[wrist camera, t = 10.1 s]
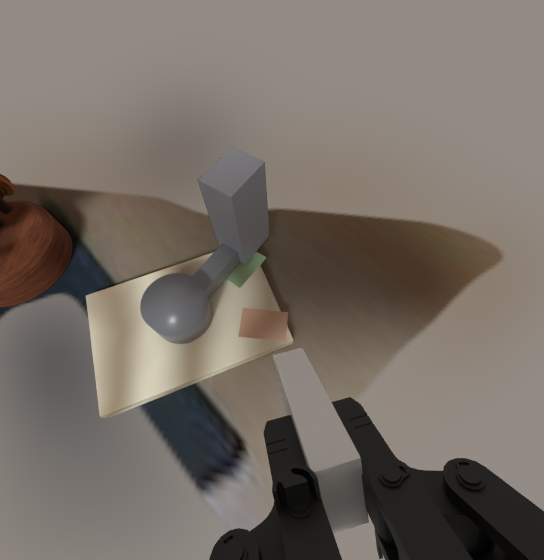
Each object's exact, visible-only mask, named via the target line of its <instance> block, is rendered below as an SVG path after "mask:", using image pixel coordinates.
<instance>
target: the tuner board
mask: <svg viewBox="0 0 544 560" xmlns="http://www.w3.org/2000/svg"><path fill="white" fill-rule="evenodd" d="M213 253H214V252H213ZM213 253H210V254H207V255H204V256H201V257H198V258H195V259H192V260H189V261H186V262H183V263H180V264H177V265H174V266H172V267H169V268H166V269H163V270H160V271H157V272H154V273H151V274H148V275H145V276H142V277H139V278H136V279H133V280H130V281H127V282H124V283H121V284H119V285H116V286H113V287H110V288H107V289H104V290H101V291H98V292H95V293H92V294H89V295H86V301H87V310H88V318H89V327H90V335H91V344H92V353H93V361H94V370H95V378H96V387H97V395H98V404H99V412H100V417H103V418H109V417H112V416H114V415H117V414H119V413H122V412H124V411H127V410H129V409H132V408H134V407H137V406H139V405H142V404H144V403H147V402H149V401H152V400H154V399H157V398H159V397H162V396H164V395H167V394H169V393H172V392H174V391H177V390H179V389H182V388H184V387H187V386H189V385H192V384H194V383H197V382H199V381H202V380H204V379H207V378H209V377H212V376H214V375H217V374H219V373H222V372H224V371H227V370H229V369H232V368H234V367H237V366H239V365H242V364H244V363H247V362H249V361H252V360H254V359H257V358H259V357H262V356H264V355H267V354H269V353H272V352H274V351H277V350H279V349H282V348H284V347H287V346H289V345H292V344H293V338H292V336H291V333H290V331H289V329H288V326H287V321H288V312H281V311H280V308H279V306H278V304H277V301H276V299H275V297H274V295H273V292H272V290H271V288H270V286H269V283H268V281H267V279H266V277H265V274H264V272H263V270H262V267H261V264H262V263H263V261H264V260H265V259H266V257H265V256H263V255H261V254H260V253H258V252H255V254H254V255H253V256H252V257H251V259H250V260H249V261H248V262H247V263H246V265H245V264H243V263H241V262H239V263H238V264H237V266H236V267H235V268H234V269H233V270H232V272H231V273H230V274H229V275H228V276H227V278H226V279H225V280H224V281H223V282H222V283H221V285H220V286H219V287H218V288H217V289H216V291H215V292H214V293H213V294H212V295H211V297H210V298H209V301H210V303H211V306H212V310H213V316H212V321H211V323H210V326H209V327H208V329H207V330H206V332H205V333H204V334H203V335H202V336H201V337H199V338H198V339H196V340H194V341H192V342H189V343H185V344H175V343H171V342H168V341H166V340H165V339H164V338H162V337H161V336H160V335H159V334H158V333H157V332H156V331H154V330H153V329H152V328H151V327H150V326H149V325H148V324H146V322H145V321H144V319H143V318H142V315H141V311H140V303H141V299H142V296H143V294H144V292H145V290H146V289H147V288H148V287H149V285H150V284H151V283H153V282H154V281H155V280H157V279H158V278H160V277H162V276H164V275H167V274H171V273H183V274H187V275H190V276H193V275H194V274H195V273H196V272H197V270H198V269H199V268H200V267H201V266H202V265H203V264H204V263H205V262H206V260H207V259H208V258H209V257H210V256H211V255H212V254H213Z"/></svg>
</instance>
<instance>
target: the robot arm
mask: <svg viewBox="0 0 544 560" xmlns="http://www.w3.org/2000/svg"><path fill="white" fill-rule="evenodd" d="M273 358H274V362H275V367H276V372H277V377H278V381H279V386H280V391H281V395H282V400H283V403H284V407H285V410H286V413H287V416H285V417H281V418H277V419H274V420H270V421H267V423H266V426H265V430H264V438H265V443H266V448H267V454H268V459H269V464H270V470H271V475H272V480H273V487H272V493H273V497H274V500H275V501H274V506H273V508H272V510H271V512H270V514H269V515H268V517H267V518H266V519H265V520H264V521H263V522H262V523H261V524H259V525H258V526H257V527H255V528H254V529H252V530H251V531H250V532H249V531H248V530H245V529H240V528H238V529H234V530H230V531H228V532H227V533H226V534H224V535H223V536H221V538H220V539H219V540H218V541H217V543H216V544H215V546H214V548H213V550H212V553H211V556H210V560H342V558H341V556H340V553H339V550H338V547H337V544H336V541H335V538H334V535H333V534H334V533H337V532H340V531H343V530H346V529H349V528H352V527H355V526H358V525H361V524H364V523H367V522H369V520H368V514H369V516H370V518H371V520H372V522H373V524H374V527H375V535H376V544H377V551H378V555H379V559H381V558H383V556H384V558H385V560H544V511H542V510H541V509H539V507H537V506H536V505H535V504H533V503H532V502H531V501H529V500H528V499H527V498H525V497H524V496H523V495H521V494H520V493H519V492H517V491H516V490H515V489H513V488H512V487H511V486H510V485H508V484H507V483H506V482H504V481H503V480H502V479H500V478H499V477H498V476H496V475H495V474H493V473H492V472H491V471H490V470H488V469H487V468H486V467H484V466H483V465H481V464H479V463H477V462H476V461H472V460H469V459H466V458H456V459H453V460H450V461H448V462H447V463H446V465H445V466H444V470H443V471H424V470H417V469H414V468H410V467H408V466H407V465H406V464H405V463H403V462H401V461H400V460H398V459H397V458H396V457H395V455H394V454H393V453H392V451H391V450H390V448H389V447H388V445H387V444H386V442H385V441H384V439H383V438H382V436H381V434H380V433H379V432H378V430H377V429H376V427H375V425H374V424H373V423H372V421H371V419H370V418H369V416H367V413H366V412H365V411H364V409H363V407H362V406H361V404H359V403H358V402H357V401H355V400H354V399H352V398H351V397H349V398H346V399H342V400H338V401H335V402H331V401H330V399H329V397H328V395H327V393H326V391H325V389H324V387H323V386H322V384H321V382H320V380H319V378H318V376H317V374H316V372H315V370H314V369H313V367H312V365H311V363H310V361H309V359H308V357H307V355H306V353H305V352H304V350H303V348H298V349H294V350H290V351H286V352H283V353H279V354H275V355H273ZM382 553H383V554H382Z"/></svg>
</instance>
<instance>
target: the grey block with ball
mask: <svg viewBox="0 0 544 560" xmlns="http://www.w3.org/2000/svg"><path fill="white" fill-rule="evenodd" d="M198 183H199V186H200V189H201V192H202V195H203V198H204V202H205V204H206V208H207V211H208V214H209V217H210V220H211V223H212V226H213V229H214V232H215V235H216V239H217V242H218V245H219V247H218V248H217V249H216V250H215V251H214V253H213V254H212V255H211V256H210V257H209V258H208V259H207V260H206V262H205V263H204V264H203V265H202V266H201V267H200V268H199V269H198V270H197V272H196V273H195V274H194V275H193V276H190V275H187V274H183V273H171V274H167V275H164V276H162V277H160V278H158V279H157V280H155V281H154V282H153V283H151V284H150V285H149V287H148V288H147V289H146V290H145V292H144V294H143V296H142V299H141V303H140V311H141V315H142V318H143V319H144V321H145V322H146V324H148V325H149V326H150V327H151V328H152V329H153V330H154V331H156V332H157V333H158V334H159V335H160V336H161V337H162V338H164V339H165V340H166V341H168V342H171V343H175V344H185V343H189V342H192V341H194V340H196V339H198V338H199V337H201V336H202V335H203V334H204V333H205V332H206V330H207V329H208V327H209V326H210V323H211V321H212V316H213V310H212V306H211V303H210V301H209V298H210V297H211V295H212V294H213V293H214V292H215V291H216V289H217V288H218V287H219V286H220V285H221V283H222V282H223V281H224V280H225V279H226V278H227V276H228V275H229V274H230V273H231V272H232V270H233V269H234V268H235V267H236V266H237V264H238V263H239V262H241V263H243V264H245V265H246V263H247V262H248V261H249V260H250V259H251V257H252V256H253V255H254V254H255V252H256V251H257V250H258V249H259V248H260V246H261V245H262V244H263V243H264V242H265V240H266V239H267V238H268V237H269V222H268V207H267V192H266V178H265V162H263V161H261V160H259V159H257V158H255V157H252V156H250V155H248V154H246V153H244V152H242V151H239V150H237V149H235V148H233V147H232V148H231V149H229V150H228V151H227V152H226V153H225V154H224V155H223V156H222V157H221V158H220V159H219V160H218V161H217V162H216V163H215V164H214V165H213V166H212V167H211V168H210V169H208V171H206V172H205V173H204V174H203V175H202V176H201V177H200V178H199V179H198Z"/></svg>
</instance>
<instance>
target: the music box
mask: <svg viewBox="0 0 544 560" xmlns="http://www.w3.org/2000/svg"><path fill="white" fill-rule="evenodd" d="M14 191H15V187H14V186H13V185H12V183H11V182H10V180H9V179H8V178H6V177H5V176H3V175H1V174H0V307H8V306H13V305H17V304H21V303H23V302H26V301H28V300H31V299H33V298H35V297H36V296H38V295H40V294H41V293H43V292H44V291H46V290H47V289H48V288H49V287H51V286H52V285H53V284H54V283H55V282H56V281H57V280H58V279H59V278H60V276H61V275H62V274H63V272H64V271H65V269H66V268H67V266H68V264H69V262H70V259H71V256H72V250H73V245H72V240H71V237H70V235H69V233H68V232H67V230H66V229H65V228H64V227H63V226H62V225H61V224H60V223H59V222H58V221H56V220H55V219H54V218H53V217H52V216H51V215H50V214H49V213H48V212H47V211H46V210H45V209H44V208H42V207H41V206H39V205H37V204H34V203H30V202H21V201H17V202H5V201H4V200H3V199H2V198H3V197H4V196H5V195H12V194H13V193H14Z"/></svg>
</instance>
